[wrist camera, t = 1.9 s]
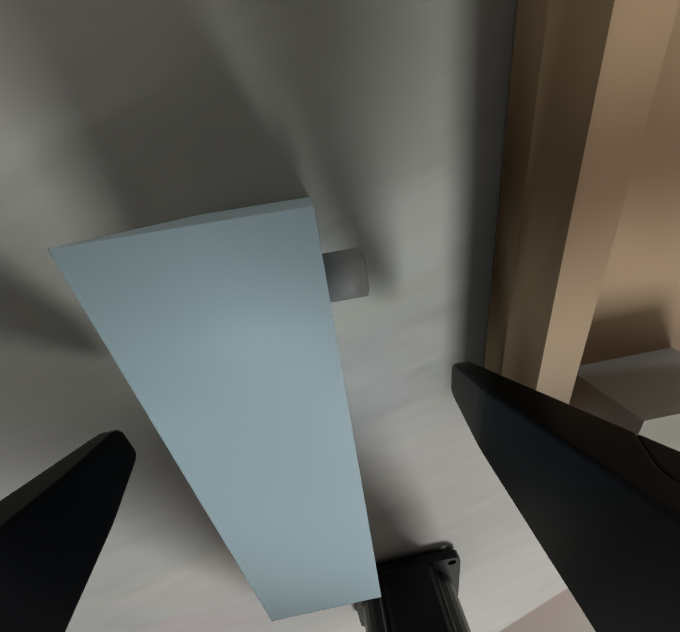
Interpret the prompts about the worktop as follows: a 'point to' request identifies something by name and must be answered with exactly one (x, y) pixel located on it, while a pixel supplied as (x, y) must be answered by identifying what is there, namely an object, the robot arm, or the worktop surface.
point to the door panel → (245, 385)
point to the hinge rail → (592, 212)
